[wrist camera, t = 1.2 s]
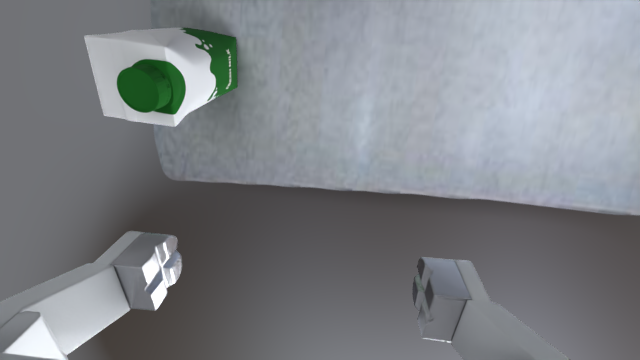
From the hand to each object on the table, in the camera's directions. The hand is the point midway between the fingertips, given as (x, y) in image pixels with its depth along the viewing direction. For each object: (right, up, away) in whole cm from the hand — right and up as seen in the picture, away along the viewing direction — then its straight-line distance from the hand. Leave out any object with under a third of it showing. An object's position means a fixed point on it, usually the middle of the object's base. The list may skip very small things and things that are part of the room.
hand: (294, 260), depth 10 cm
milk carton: (-15, +20, +34) cm, 43 cm away
